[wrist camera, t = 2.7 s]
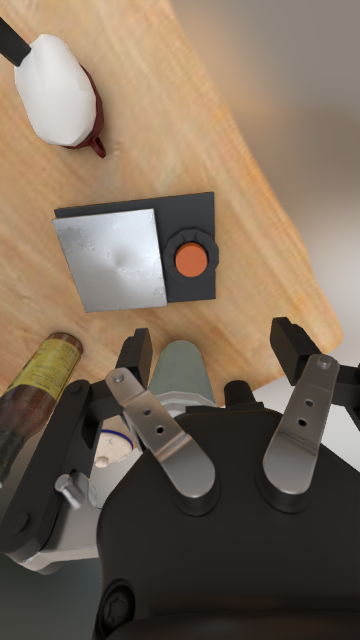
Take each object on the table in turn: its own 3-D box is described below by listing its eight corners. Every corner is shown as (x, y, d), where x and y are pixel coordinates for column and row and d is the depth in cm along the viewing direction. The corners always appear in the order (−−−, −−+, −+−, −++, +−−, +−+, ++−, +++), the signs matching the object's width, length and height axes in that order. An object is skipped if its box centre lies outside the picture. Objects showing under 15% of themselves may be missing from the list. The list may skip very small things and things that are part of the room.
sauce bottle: (43, 328, 36) (-75, 461, 20) (82, 333, 37) (0, 467, 20) (49, 359, 40) (-46, 493, 23) (86, 363, 40) (18, 497, 24)
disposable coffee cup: (175, 383, 43) (171, 470, 30) (135, 347, 38) (112, 433, 26) (223, 357, 39) (242, 444, 27) (185, 315, 35) (187, 396, 22)
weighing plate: (87, 310, 31) (85, 312, 30) (53, 218, 25) (50, 219, 24) (167, 304, 30) (167, 306, 30) (154, 207, 24) (153, 208, 24)
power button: (177, 273, 28) (177, 278, 27) (174, 244, 26) (174, 247, 25) (206, 270, 28) (207, 275, 27) (205, 241, 26) (206, 244, 25)
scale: (92, 304, 34) (85, 315, 31) (59, 208, 27) (46, 212, 24) (216, 294, 33) (218, 304, 30) (214, 191, 26) (218, 193, 23)
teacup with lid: (146, 414, 48) (137, 475, 38) (106, 419, 49) (87, 480, 40) (126, 375, 42) (109, 436, 32) (81, 382, 43) (51, 443, 33)
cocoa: (123, 155, 24) (81, 143, 14) (69, 171, 25) (-7, 171, 15) (82, 19, 19) (-30, -154, 9) (16, 45, 20) (-154, -87, 10)
